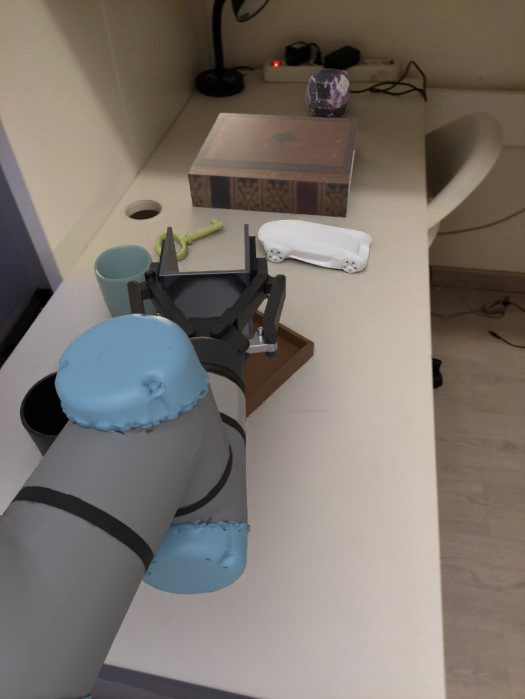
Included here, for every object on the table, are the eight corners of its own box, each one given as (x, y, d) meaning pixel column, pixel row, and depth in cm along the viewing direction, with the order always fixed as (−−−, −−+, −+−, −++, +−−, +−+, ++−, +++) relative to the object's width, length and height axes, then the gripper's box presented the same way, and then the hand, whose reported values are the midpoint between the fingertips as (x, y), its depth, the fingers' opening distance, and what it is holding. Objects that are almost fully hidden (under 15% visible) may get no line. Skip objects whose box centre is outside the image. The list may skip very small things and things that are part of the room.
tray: (150, 355, 74) (147, 343, 72) (222, 301, 81) (221, 288, 79) (242, 421, 66) (241, 409, 64) (313, 355, 73) (314, 342, 71)
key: (227, 231, 93) (226, 221, 91) (173, 266, 87) (171, 255, 85) (199, 216, 96) (197, 206, 95) (145, 249, 90) (142, 238, 89)
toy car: (371, 245, 89) (374, 222, 85) (364, 275, 84) (368, 252, 80) (265, 232, 92) (265, 209, 89) (253, 260, 87) (252, 237, 84)
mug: (48, 512, 59) (17, 470, 52) (46, 425, 66) (19, 378, 60) (134, 488, 60) (115, 444, 53) (122, 406, 68) (104, 359, 61)
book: (345, 217, 94) (348, 183, 90) (192, 206, 99) (187, 173, 94) (355, 150, 111) (358, 118, 106) (223, 143, 115) (220, 112, 110)
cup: (111, 302, 82) (93, 248, 74) (162, 294, 82) (150, 240, 75) (111, 338, 76) (92, 284, 69) (165, 329, 77) (152, 275, 70)
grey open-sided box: (253, 338, 59) (250, 271, 53) (171, 341, 59) (158, 275, 53) (251, 287, 66) (248, 223, 60) (178, 290, 66) (167, 226, 59)
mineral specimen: (320, 121, 116) (313, 70, 112) (303, 122, 125) (295, 75, 121) (361, 112, 118) (355, 61, 113) (341, 113, 127) (335, 66, 123)
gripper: (84, 429, 48) (122, 277, 64) (326, 419, 48) (303, 270, 64) (60, 372, 43) (108, 222, 59) (332, 361, 43) (305, 215, 59)
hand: (210, 247), depth 62 cm, fingers closed on grey open-sided box, 9 cm apart
